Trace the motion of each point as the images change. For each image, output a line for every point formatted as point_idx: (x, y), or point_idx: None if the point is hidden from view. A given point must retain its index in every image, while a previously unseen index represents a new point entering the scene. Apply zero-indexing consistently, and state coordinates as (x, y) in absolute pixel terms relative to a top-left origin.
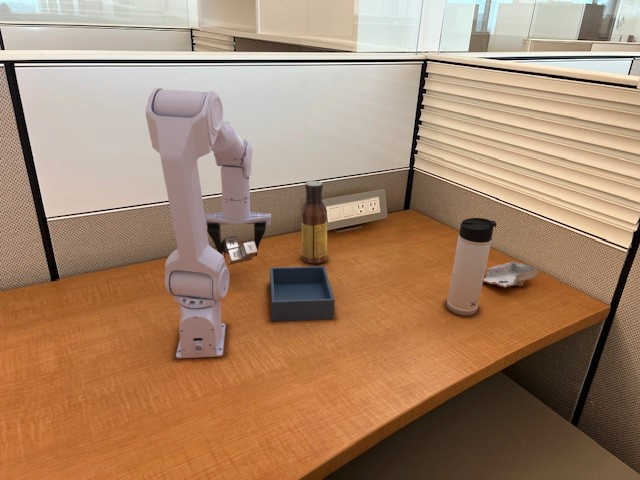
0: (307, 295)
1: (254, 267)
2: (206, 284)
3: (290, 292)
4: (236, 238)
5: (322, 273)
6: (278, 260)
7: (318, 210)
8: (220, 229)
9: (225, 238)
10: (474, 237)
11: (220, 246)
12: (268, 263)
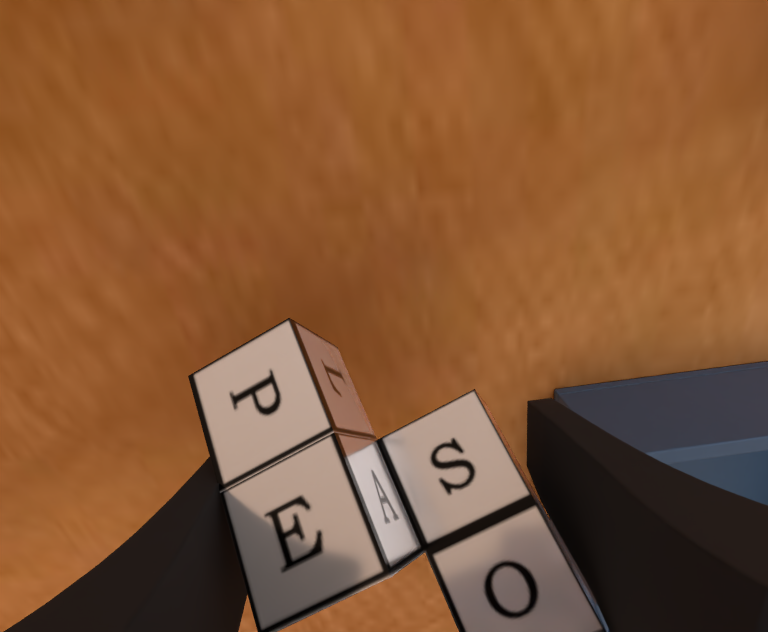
0: (724, 478)
1: (461, 186)
2: None
3: None
4: (398, 569)
5: None
6: (638, 57)
7: None
8: (147, 612)
9: (274, 629)
10: None
11: (240, 591)
12: (559, 115)
